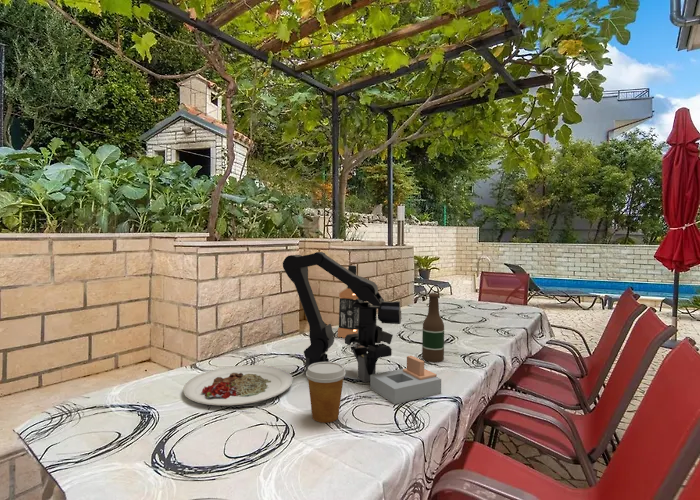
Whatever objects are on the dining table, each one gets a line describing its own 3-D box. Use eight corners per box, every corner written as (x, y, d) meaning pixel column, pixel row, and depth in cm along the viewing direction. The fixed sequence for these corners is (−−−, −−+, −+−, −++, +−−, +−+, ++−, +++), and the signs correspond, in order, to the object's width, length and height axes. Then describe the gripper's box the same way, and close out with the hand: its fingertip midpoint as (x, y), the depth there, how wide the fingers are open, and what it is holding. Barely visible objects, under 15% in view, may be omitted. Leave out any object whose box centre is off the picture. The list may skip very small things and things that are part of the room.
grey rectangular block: (364, 382, 113) (364, 357, 113) (357, 378, 117) (358, 354, 117) (375, 380, 115) (375, 355, 115) (368, 376, 119) (368, 352, 118)
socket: (394, 404, 98) (394, 389, 98) (370, 388, 108) (370, 374, 108) (441, 393, 106) (441, 379, 105) (414, 379, 116) (414, 366, 116)
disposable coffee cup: (350, 412, 93) (351, 364, 93) (335, 429, 84) (335, 376, 84) (316, 405, 97) (317, 359, 96) (298, 421, 88) (298, 370, 88)
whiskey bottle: (355, 340, 162) (356, 266, 162) (336, 337, 168) (336, 265, 167) (366, 335, 171) (367, 265, 171) (348, 332, 176) (349, 264, 176)
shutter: (420, 379, 104) (420, 363, 104) (402, 371, 111) (402, 355, 111) (436, 376, 107) (436, 360, 107) (418, 368, 114) (418, 353, 114)
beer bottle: (442, 356, 140) (443, 292, 140) (445, 363, 132) (446, 295, 132) (421, 355, 141) (422, 292, 140) (423, 362, 133) (424, 294, 133)
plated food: (308, 376, 119) (308, 365, 119) (261, 418, 90) (261, 404, 90) (225, 367, 127) (225, 357, 127) (157, 403, 98) (157, 390, 98)
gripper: (406, 325, 111) (406, 377, 112) (373, 314, 128) (372, 360, 128) (375, 329, 106) (374, 384, 106) (344, 317, 122) (343, 365, 123)
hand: (366, 372), depth 116 cm, fingers closed on grey rectangular block, 4 cm apart
